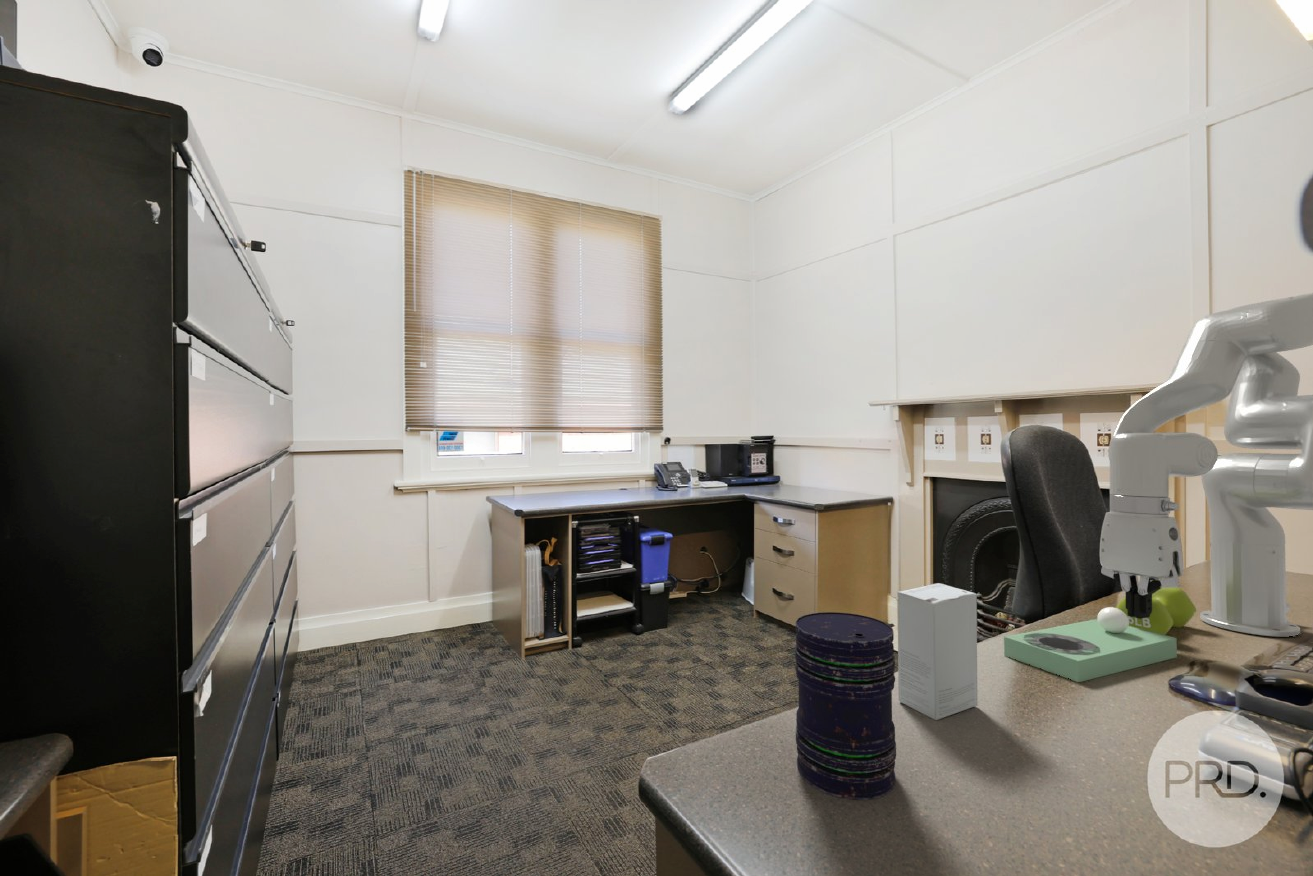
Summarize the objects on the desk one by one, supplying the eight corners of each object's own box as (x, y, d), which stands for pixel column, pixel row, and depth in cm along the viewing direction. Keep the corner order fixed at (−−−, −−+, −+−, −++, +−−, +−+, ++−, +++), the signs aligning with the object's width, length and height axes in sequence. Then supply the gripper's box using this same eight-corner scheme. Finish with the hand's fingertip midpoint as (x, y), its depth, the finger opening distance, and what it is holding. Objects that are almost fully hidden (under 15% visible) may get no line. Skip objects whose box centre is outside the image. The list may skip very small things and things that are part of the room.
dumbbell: (1144, 618, 109) (1143, 580, 109) (1200, 629, 102) (1199, 589, 102) (1109, 634, 100) (1109, 593, 100) (1168, 647, 93) (1167, 603, 94)
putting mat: (1099, 635, 99) (1099, 618, 99) (1176, 657, 89) (1176, 638, 89) (1004, 655, 90) (1004, 636, 90) (1078, 682, 80) (1078, 661, 80)
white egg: (1107, 627, 94) (1106, 603, 94) (1135, 634, 90) (1134, 609, 90) (1091, 630, 93) (1091, 605, 93) (1119, 638, 89) (1119, 612, 89)
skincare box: (939, 690, 77) (937, 581, 78) (981, 708, 72) (979, 591, 72) (895, 703, 74) (894, 588, 74) (936, 723, 68) (934, 599, 68)
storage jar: (779, 751, 62) (778, 615, 62) (859, 740, 64) (858, 609, 65) (826, 808, 52) (825, 646, 53) (918, 792, 55) (916, 637, 55)
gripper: (1208, 510, 89) (1208, 627, 89) (1103, 502, 103) (1103, 603, 103) (1180, 512, 86) (1181, 633, 86) (1076, 502, 100) (1076, 607, 100)
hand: (1138, 616), depth 94 cm, fingers closed
